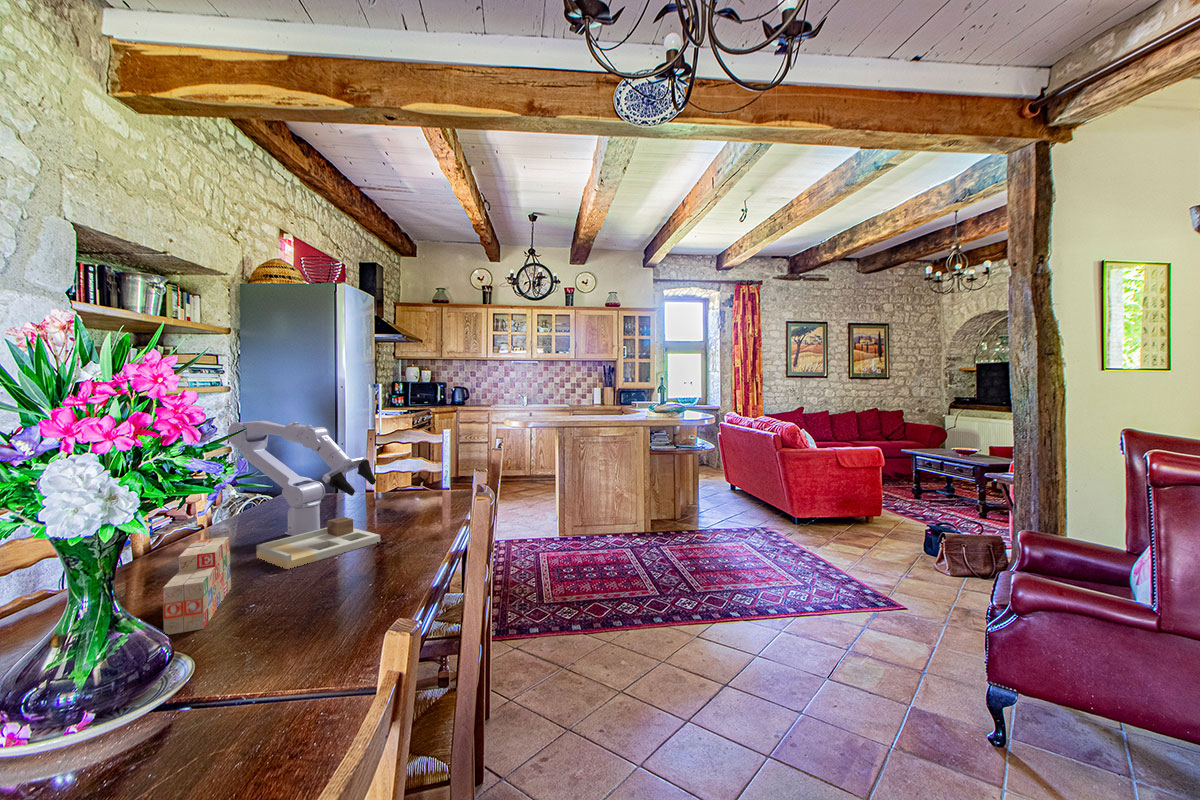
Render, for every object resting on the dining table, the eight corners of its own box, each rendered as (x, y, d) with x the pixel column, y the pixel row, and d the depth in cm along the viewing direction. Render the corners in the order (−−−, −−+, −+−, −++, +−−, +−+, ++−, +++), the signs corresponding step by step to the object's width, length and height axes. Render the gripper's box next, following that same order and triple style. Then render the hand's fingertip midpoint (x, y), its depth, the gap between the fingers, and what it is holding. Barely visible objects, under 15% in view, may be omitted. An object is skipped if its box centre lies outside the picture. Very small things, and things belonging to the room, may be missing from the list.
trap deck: (256, 558, 135) (256, 545, 135) (348, 533, 157) (348, 522, 157) (287, 569, 127) (287, 555, 127) (380, 541, 149) (380, 529, 149)
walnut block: (327, 533, 150) (327, 520, 150) (343, 529, 154) (343, 516, 154) (337, 536, 148) (336, 522, 147) (353, 532, 152) (353, 519, 152)
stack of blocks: (204, 629, 96) (202, 566, 96) (163, 636, 94) (160, 571, 93) (231, 588, 116) (229, 535, 115) (197, 593, 113) (195, 539, 113)
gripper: (316, 457, 146) (347, 490, 144) (358, 440, 158) (387, 470, 156) (310, 472, 149) (340, 505, 147) (352, 454, 162) (380, 484, 160)
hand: (364, 488), depth 152 cm, fingers open, 7 cm apart
